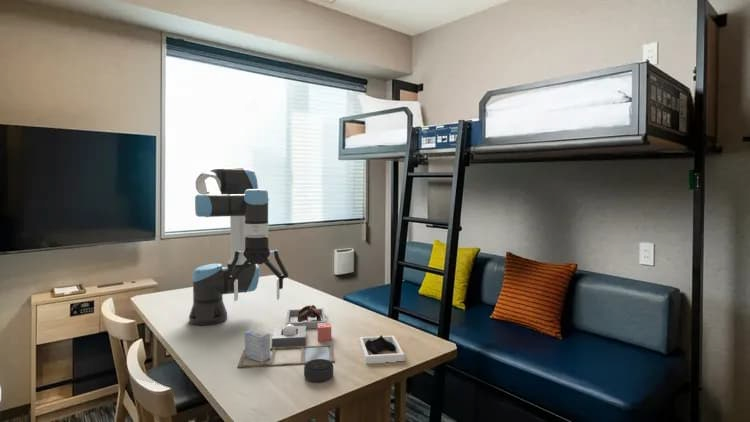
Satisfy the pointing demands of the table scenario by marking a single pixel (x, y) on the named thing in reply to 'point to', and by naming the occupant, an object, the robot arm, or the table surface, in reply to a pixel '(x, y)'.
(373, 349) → the gaming controller
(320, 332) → the die
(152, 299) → the table surface
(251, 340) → the medicine box
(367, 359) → the controller tray rim
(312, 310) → the pottery mug
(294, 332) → the dome
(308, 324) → the mug coaster rim
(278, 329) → the grey square holed block
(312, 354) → the wooden window frame
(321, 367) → the smart speaker
